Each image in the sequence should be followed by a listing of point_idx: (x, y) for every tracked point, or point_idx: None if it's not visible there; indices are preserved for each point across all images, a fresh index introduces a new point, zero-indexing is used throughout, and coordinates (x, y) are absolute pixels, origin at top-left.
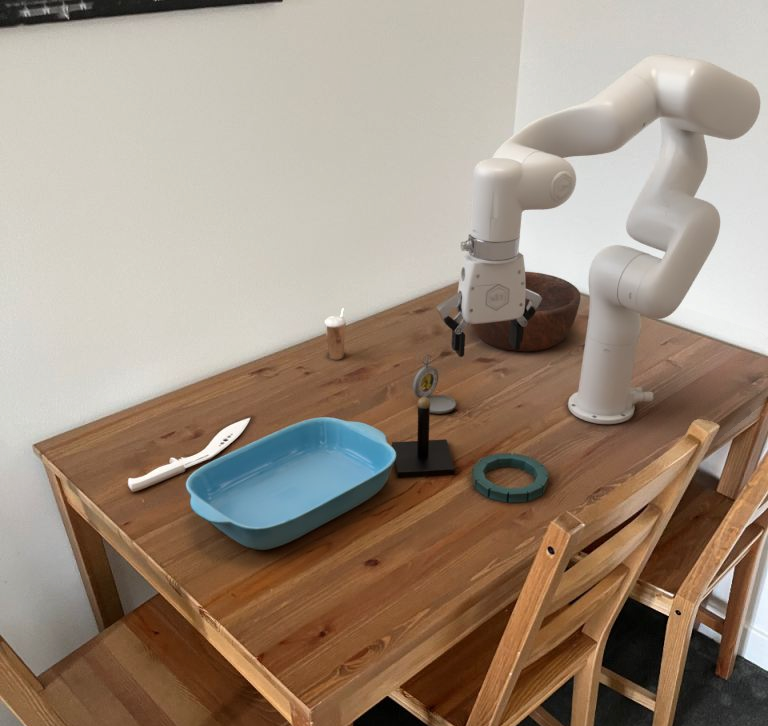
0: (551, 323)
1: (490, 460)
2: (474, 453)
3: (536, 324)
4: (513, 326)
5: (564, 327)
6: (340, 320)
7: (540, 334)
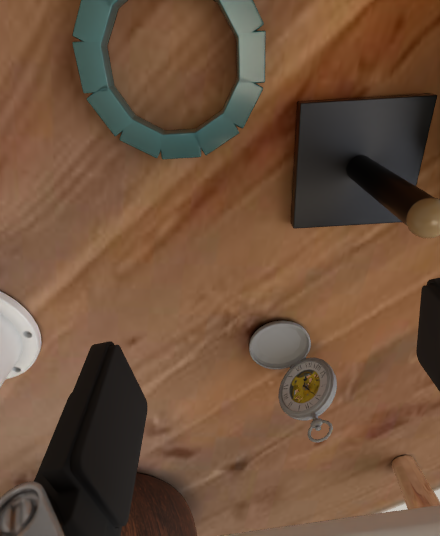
0: None
1: (214, 126)
2: (238, 189)
3: None
4: (110, 487)
5: None
6: None
7: None
